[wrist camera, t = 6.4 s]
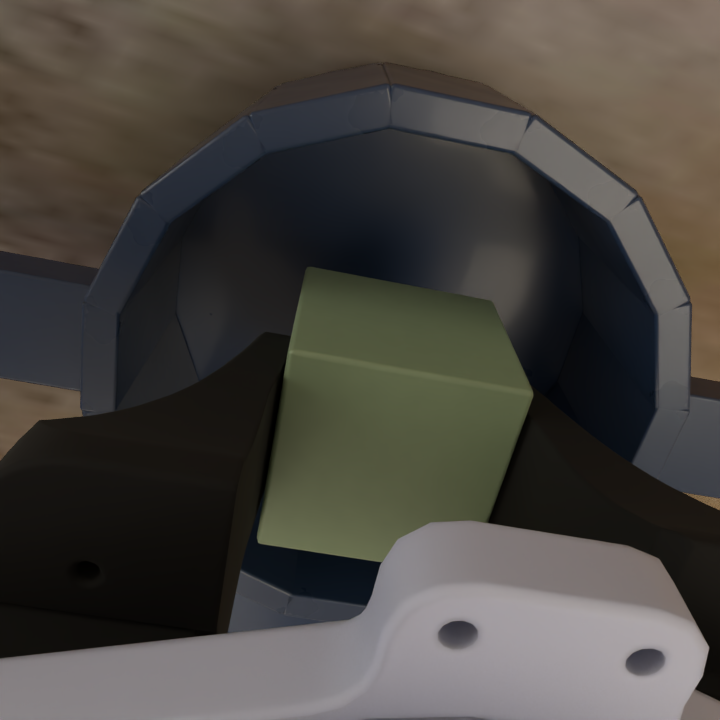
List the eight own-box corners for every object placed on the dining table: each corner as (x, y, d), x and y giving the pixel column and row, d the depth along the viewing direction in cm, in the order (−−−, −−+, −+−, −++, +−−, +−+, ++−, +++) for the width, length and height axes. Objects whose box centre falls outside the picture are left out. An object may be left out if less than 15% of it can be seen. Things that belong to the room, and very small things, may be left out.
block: (446, 454, 16) (469, 578, 13) (279, 426, 16) (255, 545, 12) (493, 299, 15) (536, 393, 11) (306, 264, 14) (287, 348, 11)
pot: (607, 526, 22) (678, 673, 17) (50, 436, 20) (-47, 569, 15) (782, 146, 17) (955, 202, 12) (47, -12, 15) (-101, -23, 10)
